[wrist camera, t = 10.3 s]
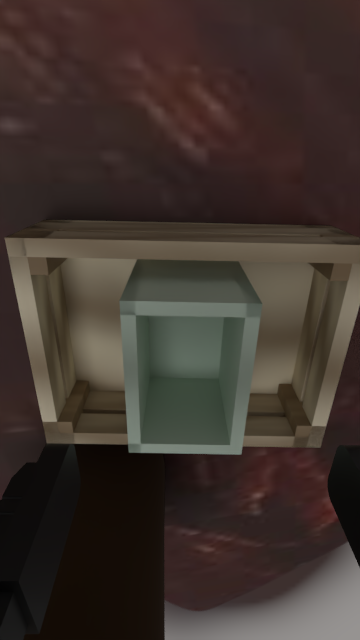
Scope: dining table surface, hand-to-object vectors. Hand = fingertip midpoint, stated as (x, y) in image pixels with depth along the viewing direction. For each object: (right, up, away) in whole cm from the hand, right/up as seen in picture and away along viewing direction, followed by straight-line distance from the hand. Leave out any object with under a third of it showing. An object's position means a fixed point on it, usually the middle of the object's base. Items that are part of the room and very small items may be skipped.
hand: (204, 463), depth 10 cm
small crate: (0, +4, +10) cm, 11 cm away
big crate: (0, +4, +10) cm, 11 cm away
